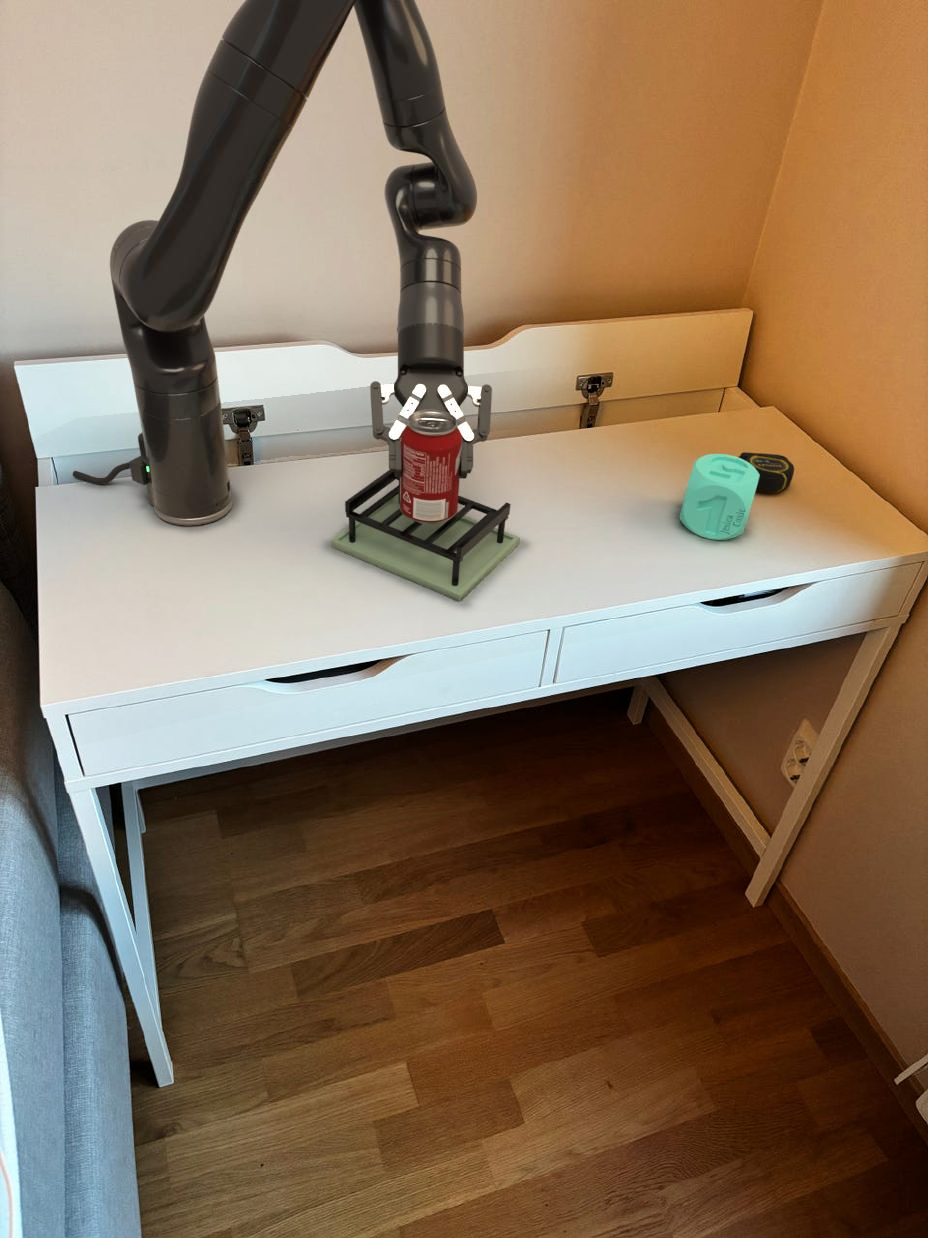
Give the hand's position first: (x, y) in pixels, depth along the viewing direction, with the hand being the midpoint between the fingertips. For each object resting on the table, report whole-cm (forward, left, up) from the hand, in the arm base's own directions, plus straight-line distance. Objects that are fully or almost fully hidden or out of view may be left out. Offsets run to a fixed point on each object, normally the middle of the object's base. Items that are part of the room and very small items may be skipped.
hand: (431, 475), depth 106 cm
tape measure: (+28, +41, -11) cm, 51 cm away
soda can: (-1, +1, -6) cm, 6 cm away
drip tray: (-1, +1, -11) cm, 11 cm away
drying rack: (-1, +1, -11) cm, 11 cm away
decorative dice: (+26, +27, -11) cm, 39 cm away
